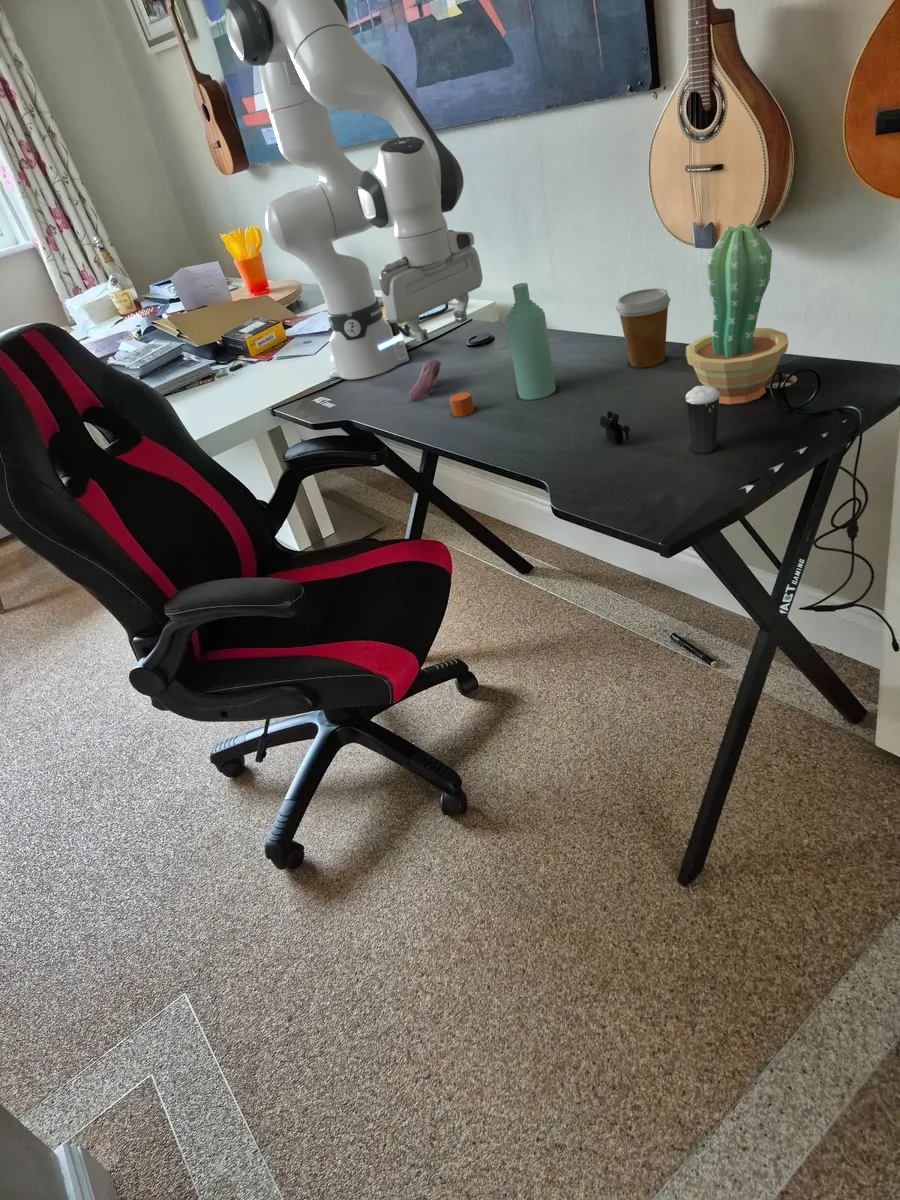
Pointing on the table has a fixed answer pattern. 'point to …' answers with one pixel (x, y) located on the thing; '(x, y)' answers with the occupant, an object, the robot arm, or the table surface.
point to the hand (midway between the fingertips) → (442, 330)
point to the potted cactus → (738, 320)
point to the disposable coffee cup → (644, 325)
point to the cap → (461, 404)
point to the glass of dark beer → (703, 417)
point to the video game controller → (425, 380)
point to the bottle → (530, 346)
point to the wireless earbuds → (614, 428)
